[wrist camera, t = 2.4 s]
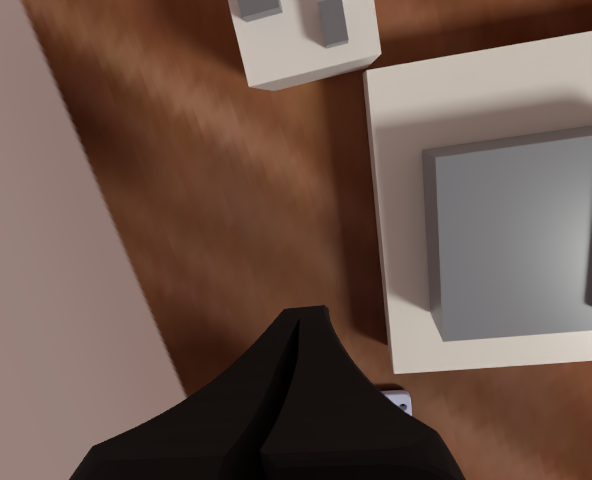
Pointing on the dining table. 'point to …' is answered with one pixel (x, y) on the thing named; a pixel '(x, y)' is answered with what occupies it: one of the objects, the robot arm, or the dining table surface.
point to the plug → (303, 39)
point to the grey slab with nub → (510, 235)
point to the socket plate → (453, 131)
